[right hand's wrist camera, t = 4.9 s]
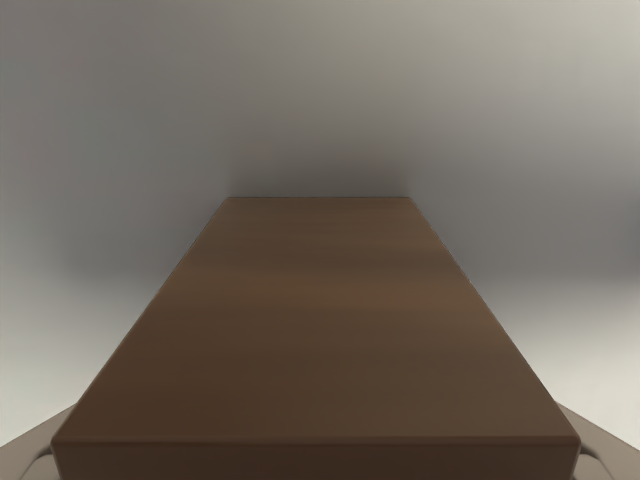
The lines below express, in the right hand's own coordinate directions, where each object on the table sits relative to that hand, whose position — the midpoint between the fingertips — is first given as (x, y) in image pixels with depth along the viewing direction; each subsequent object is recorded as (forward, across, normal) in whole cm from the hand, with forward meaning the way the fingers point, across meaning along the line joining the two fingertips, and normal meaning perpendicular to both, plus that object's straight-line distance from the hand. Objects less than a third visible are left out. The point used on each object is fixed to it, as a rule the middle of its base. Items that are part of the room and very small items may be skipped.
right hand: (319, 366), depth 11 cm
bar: (+4, 0, -10) cm, 11 cm away
